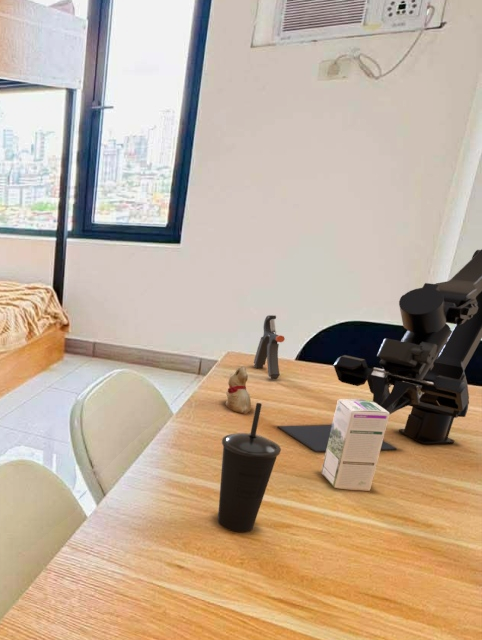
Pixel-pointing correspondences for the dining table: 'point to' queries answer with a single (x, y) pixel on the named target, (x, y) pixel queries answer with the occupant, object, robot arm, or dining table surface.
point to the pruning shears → (269, 348)
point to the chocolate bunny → (238, 392)
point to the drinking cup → (245, 476)
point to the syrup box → (354, 444)
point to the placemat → (317, 436)
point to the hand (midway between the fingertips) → (373, 420)
